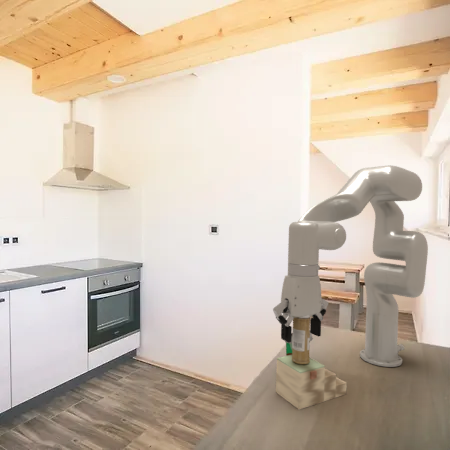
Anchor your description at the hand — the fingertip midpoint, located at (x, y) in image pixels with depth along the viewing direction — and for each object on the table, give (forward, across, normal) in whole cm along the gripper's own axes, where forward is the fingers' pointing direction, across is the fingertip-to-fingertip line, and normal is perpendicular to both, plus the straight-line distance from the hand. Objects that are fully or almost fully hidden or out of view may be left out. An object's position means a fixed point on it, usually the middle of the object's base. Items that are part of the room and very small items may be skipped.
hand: (301, 337), depth 86 cm
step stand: (+15, -4, 0) cm, 16 cm away
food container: (+16, -14, -15) cm, 26 cm away
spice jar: (+6, 0, 0) cm, 6 cm away
